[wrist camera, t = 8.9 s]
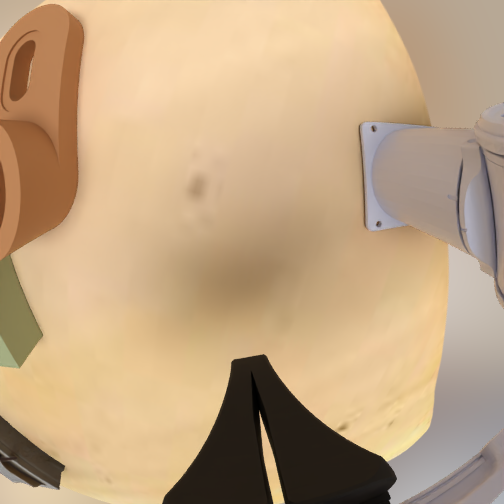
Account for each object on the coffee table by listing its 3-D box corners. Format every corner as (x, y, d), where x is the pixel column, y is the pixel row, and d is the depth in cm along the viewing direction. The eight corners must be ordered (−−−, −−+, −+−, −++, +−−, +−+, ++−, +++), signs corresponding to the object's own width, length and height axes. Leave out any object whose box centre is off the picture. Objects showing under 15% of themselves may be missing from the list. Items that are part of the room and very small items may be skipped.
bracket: (85, 226, 17) (33, 261, 10) (11, 235, 16) (-41, 266, 9) (92, 3, 11) (56, -37, 4) (14, 38, 10) (-31, 19, 3)
